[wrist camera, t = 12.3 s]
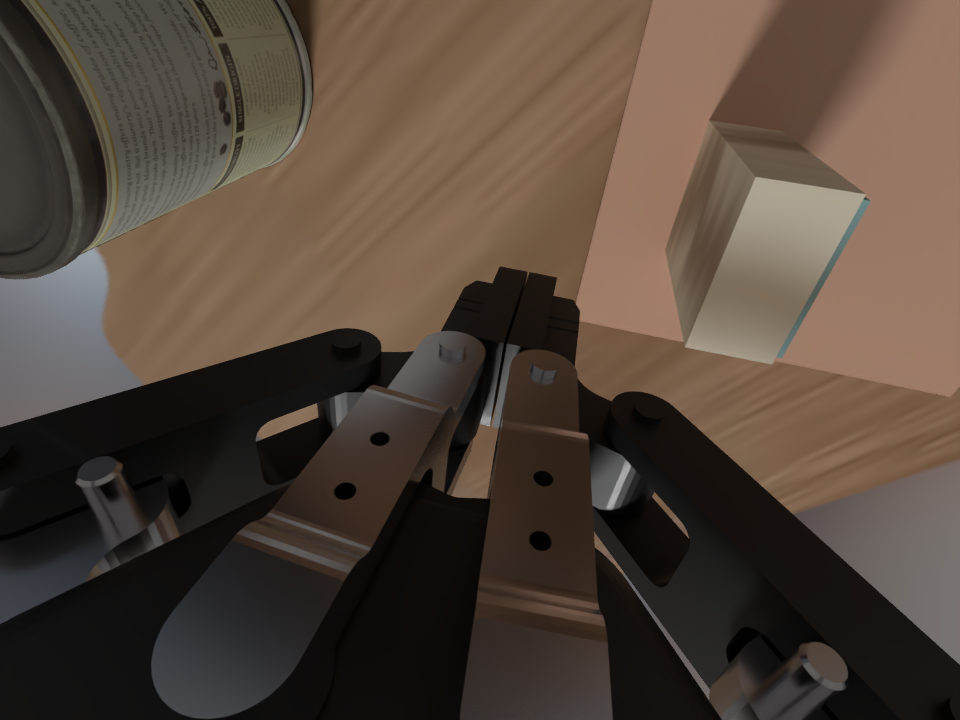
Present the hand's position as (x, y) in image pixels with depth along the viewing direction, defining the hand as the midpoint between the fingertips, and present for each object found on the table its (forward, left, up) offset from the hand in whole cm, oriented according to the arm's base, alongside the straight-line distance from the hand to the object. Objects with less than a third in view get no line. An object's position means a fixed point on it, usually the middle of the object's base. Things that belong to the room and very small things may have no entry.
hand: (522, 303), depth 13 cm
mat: (0, +12, -14) cm, 18 cm away
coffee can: (-2, -18, -14) cm, 23 cm away
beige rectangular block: (0, +7, -14) cm, 15 cm away
